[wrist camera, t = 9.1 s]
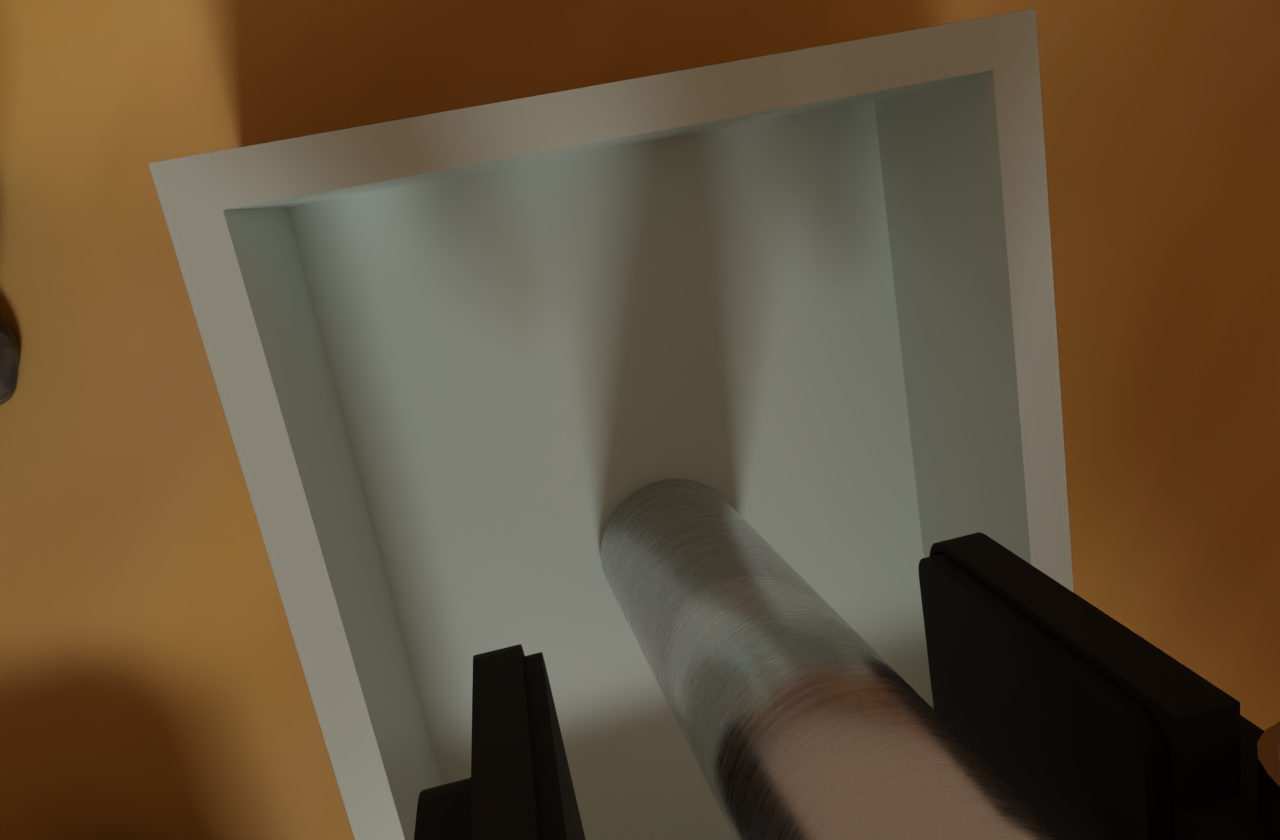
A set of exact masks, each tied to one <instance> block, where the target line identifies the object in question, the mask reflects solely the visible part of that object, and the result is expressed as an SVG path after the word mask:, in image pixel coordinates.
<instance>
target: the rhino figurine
mask: <svg viewBox="0 0 1280 840" xmlns="http://www.w3.org/2000/svg"><path fill="white" fill-rule="evenodd" d="M19 360H20V349H19V344H18V342H17V340H16V337H15V335H14V333H13V330H12V328H11V327H10V326H9V325H8V324H7V323H6V322H5V321H3V320H2V319H0V405H2V404H4V403H5V402H7V401H8V400H9V399H10V398H11V397H12V396H13V394H14V392H15V389H16V384H17V373H18V366H19Z"/></svg>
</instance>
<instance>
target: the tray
mask: <svg viewBox="0 0 1280 840" xmlns="http://www.w3.org/2000/svg"><path fill="white" fill-rule="evenodd" d="M148 164H149V167H150V170H151V174H152V177H153V180H154V183H155V187H156V190H157V193H158V196H159V200H160V203H161V206H162V210H163V213H164V216H165V219H166V223H167V226H168V229H169V232H170V236H171V239H172V242H173V246H174V249H175V252H176V255H177V259H178V262H179V265H180V268H181V272H182V275H183V278H184V282H185V285H186V288H187V291H188V295H189V298H190V301H191V305H192V308H193V311H194V314H195V318H196V321H197V324H198V327H199V331H200V334H201V337H202V341H203V344H204V347H205V350H206V354H207V357H208V360H209V363H210V367H211V370H212V373H213V377H214V380H215V383H216V386H217V390H218V393H219V396H220V399H221V403H222V406H223V409H224V413H225V416H226V419H227V422H228V426H229V429H230V432H231V435H232V439H233V442H234V445H235V449H236V452H237V455H238V458H239V462H240V465H241V468H242V471H243V475H244V478H245V481H246V485H247V488H248V491H249V494H250V498H251V501H252V504H253V507H254V511H255V514H256V517H257V521H258V524H259V527H260V530H261V534H262V537H263V540H264V543H265V547H266V550H267V553H268V557H269V560H270V563H271V566H272V570H273V573H274V576H275V579H276V583H277V586H278V589H279V593H280V596H281V599H282V602H283V606H284V609H285V612H286V616H287V619H288V622H289V625H290V629H291V632H292V635H293V638H294V642H295V645H296V648H297V652H298V655H299V658H300V661H301V665H302V668H303V671H304V674H305V678H306V681H307V684H308V688H309V691H310V694H311V697H312V701H313V704H314V707H315V710H316V714H317V717H318V720H319V724H320V727H321V730H322V733H323V737H324V740H325V743H326V746H327V750H328V753H329V756H330V760H331V763H332V766H333V769H334V773H335V776H336V779H337V782H338V786H339V789H340V792H341V796H342V799H343V802H344V805H345V809H346V812H347V815H348V818H349V822H350V825H351V828H352V832H353V835H354V838H355V840H414V832H415V823H416V813H417V804H418V798H419V793H420V792H421V791H422V790H424V789H428V788H432V787H436V786H440V785H443V784H447V783H451V782H455V781H459V780H463V779H467V778H470V777H471V747H472V686H473V656H474V655H478V654H482V653H486V652H490V651H494V650H498V649H502V648H506V647H510V646H515V645H519V644H521V645H522V648H523V651H524V655H525V656H528V655H532V654H536V653H540V652H542V654H543V657H544V661H545V665H546V670H547V674H548V678H549V683H550V687H551V691H552V696H553V700H554V704H555V709H556V713H557V717H558V722H559V726H560V730H561V735H562V739H563V743H564V748H565V752H566V757H567V761H568V765H569V770H570V774H571V778H572V783H573V787H574V791H575V796H576V800H577V804H578V809H579V813H580V817H581V822H582V826H583V830H584V835H585V839H586V840H735V838H734V836H733V834H732V832H731V830H730V828H729V826H728V824H727V822H726V820H725V818H724V816H723V814H722V812H721V810H720V808H719V806H718V804H717V802H716V800H715V798H714V796H713V794H712V792H711V790H710V788H709V786H708V784H707V782H706V780H705V778H704V776H703V774H702V772H701V770H700V768H699V765H698V763H697V761H696V759H695V757H694V755H693V753H692V751H691V749H690V747H689V745H688V743H687V741H686V739H685V737H684V735H683V733H682V731H681V729H680V727H679V725H678V723H677V721H676V719H675V717H674V715H673V713H672V711H671V709H670V707H669V705H668V703H667V701H666V699H665V697H664V695H663V693H662V691H661V689H660V687H659V685H658V683H657V681H656V679H655V677H654V675H653V673H652V671H651V669H650V667H649V665H648V663H647V661H646V659H645V657H644V655H643V653H642V651H641V649H640V647H639V645H638V643H637V640H636V638H635V636H634V634H633V632H632V630H631V628H630V626H629V624H628V622H627V620H626V618H625V616H624V614H623V612H622V610H621V608H620V606H619V604H618V602H617V600H616V598H615V596H614V594H613V592H612V590H611V588H610V586H609V584H608V582H607V580H606V578H605V575H604V572H603V569H602V564H601V542H602V537H603V534H604V530H605V528H606V526H607V523H608V521H609V519H610V518H611V516H612V514H613V513H614V511H615V510H616V509H617V508H618V506H619V505H620V504H621V503H622V502H623V501H624V500H625V499H626V498H627V497H629V496H630V495H631V494H632V493H634V492H635V491H637V490H639V489H640V488H642V487H644V486H646V485H649V484H651V483H654V482H657V481H662V480H667V479H687V480H692V481H696V482H699V483H702V484H704V485H706V486H708V487H710V488H712V489H713V490H714V491H716V492H717V493H718V494H720V495H721V496H722V497H723V498H724V499H725V500H726V501H727V502H728V503H729V504H730V505H731V506H732V507H733V508H734V509H735V510H736V511H737V512H738V513H739V514H740V515H741V516H742V517H743V518H744V519H745V520H746V521H747V522H748V523H749V524H750V526H751V527H752V528H753V529H754V530H755V531H756V532H757V533H758V534H759V535H760V536H761V537H762V538H763V539H764V540H765V541H766V542H767V543H768V544H769V545H770V546H771V547H772V548H773V549H774V550H775V551H776V552H777V553H778V554H779V555H780V556H781V557H782V558H783V559H784V560H785V561H786V562H787V563H788V564H789V565H790V566H791V567H792V568H793V569H794V570H795V571H796V572H797V573H798V574H799V575H800V576H801V577H802V578H803V579H804V580H805V581H806V582H807V583H808V584H809V585H810V586H811V587H812V588H813V589H814V590H815V591H816V592H817V593H818V594H819V595H820V596H821V597H822V598H823V599H824V600H825V601H826V602H827V603H828V604H829V605H830V606H831V607H832V608H833V609H834V610H835V611H836V612H837V613H838V614H839V615H840V616H841V617H842V618H843V619H844V620H845V621H846V622H847V623H848V624H849V625H850V626H851V627H852V628H853V629H854V630H855V631H856V632H857V633H858V634H859V635H860V636H861V637H862V638H863V639H864V640H865V641H866V642H867V643H868V644H869V645H870V646H871V647H872V648H873V649H874V650H875V651H876V652H877V653H878V654H879V655H880V656H881V657H882V658H883V659H884V660H885V661H886V662H887V663H888V664H889V665H890V666H891V667H892V668H893V669H894V670H895V671H896V672H897V673H898V674H899V675H900V676H901V677H902V678H903V679H904V680H905V681H906V682H907V683H908V684H909V685H910V686H911V687H912V688H913V689H914V690H915V691H916V692H917V693H918V694H919V695H920V696H921V697H922V698H923V699H924V700H925V701H926V702H927V703H928V704H929V705H930V706H931V708H932V709H933V710H934V708H933V699H932V690H931V681H930V672H929V663H928V654H927V645H926V636H925V627H924V618H923V609H922V600H921V591H920V582H919V570H918V567H919V562H920V560H921V559H922V558H927V557H929V555H930V549H931V547H932V545H933V544H934V543H937V542H941V541H945V540H949V539H953V538H957V537H961V536H965V535H970V534H974V533H978V532H980V533H983V534H985V535H987V536H988V537H990V538H991V539H993V540H994V541H996V542H998V543H999V544H1001V545H1002V546H1004V547H1005V548H1007V549H1008V550H1010V551H1011V552H1013V553H1014V554H1016V555H1017V556H1019V557H1020V558H1022V559H1023V560H1025V561H1026V562H1028V563H1029V564H1031V565H1032V566H1034V567H1035V568H1037V569H1038V570H1040V571H1041V572H1043V573H1045V574H1046V575H1048V576H1049V577H1051V578H1052V579H1054V580H1055V581H1057V582H1058V583H1060V584H1061V585H1063V586H1064V587H1066V588H1067V589H1069V590H1070V591H1072V592H1073V593H1074V588H1073V573H1072V557H1071V542H1070V527H1069V511H1068V496H1067V481H1066V465H1065V450H1064V434H1063V419H1062V404H1061V388H1060V373H1059V358H1058V342H1057V327H1056V311H1055V296H1054V281H1053V265H1052V250H1051V235H1050V219H1049V204H1048V188H1047V173H1046V158H1045V142H1044V127H1043V111H1042V96H1041V81H1040V65H1039V50H1038V35H1037V19H1036V9H1030V10H1024V11H1019V12H1013V13H1007V14H1002V15H996V16H990V17H984V18H979V19H973V20H967V21H961V22H956V23H950V24H944V25H938V26H933V27H927V28H921V29H916V30H910V31H904V32H898V33H893V34H887V35H881V36H875V37H870V38H864V39H858V40H852V41H847V42H841V43H835V44H830V45H824V46H818V47H812V48H807V49H801V50H795V51H789V52H784V53H778V54H772V55H766V56H761V57H755V58H749V59H744V60H738V61H732V62H726V63H721V64H715V65H709V66H703V67H698V68H692V69H686V70H680V71H675V72H669V73H663V74H658V75H652V76H646V77H640V78H635V79H629V80H623V81H617V82H612V83H606V84H600V85H594V86H589V87H583V88H577V89H572V90H566V91H560V92H554V93H549V94H543V95H537V96H531V97H526V98H520V99H514V100H508V101H503V102H497V103H491V104H486V105H480V106H474V107H468V108H463V109H457V110H451V111H445V112H440V113H434V114H428V115H422V116H417V117H411V118H405V119H400V120H394V121H388V122H382V123H377V124H371V125H365V126H359V127H354V128H348V129H342V130H336V131H331V132H325V133H319V134H314V135H308V136H302V137H296V138H291V139H285V140H279V141H273V142H268V143H262V144H256V145H250V146H245V147H239V148H233V149H228V150H222V151H216V152H210V153H205V154H199V155H193V156H187V157H182V158H176V159H170V160H164V161H159V162H153V163H148Z"/></svg>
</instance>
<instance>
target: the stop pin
mask: <svg viewBox="0 0 1280 840" xmlns="http://www.w3.org/2000/svg"><path fill="white" fill-rule="evenodd" d="M601 564H602V569H603V572H604V575H605V578H606V580H607V582H608V584H609V586H610V588H611V590H612V592H613V594H614V596H615V598H616V600H617V602H618V604H619V606H620V608H621V610H622V612H623V614H624V616H625V618H626V620H627V622H628V624H629V626H630V628H631V630H632V632H633V634H634V636H635V638H636V640H637V643H638V645H639V647H640V649H641V651H642V653H643V655H644V657H645V659H646V661H647V663H648V665H649V667H650V669H651V671H652V673H653V675H654V677H655V679H656V681H657V683H658V685H659V687H660V689H661V691H662V693H663V695H664V697H665V699H666V701H667V703H668V705H669V707H670V709H671V711H672V713H673V715H674V717H675V719H676V721H677V723H678V725H679V727H680V729H681V731H682V733H683V735H684V737H685V739H686V741H687V743H688V745H689V747H690V749H691V751H692V753H693V755H694V757H695V759H696V761H697V763H698V765H699V768H700V770H701V772H702V774H703V776H704V778H705V780H706V782H707V784H708V786H709V788H710V790H711V792H712V794H713V796H714V798H715V800H716V802H717V804H718V806H719V808H720V810H721V812H722V814H723V816H724V818H725V820H726V822H727V824H728V826H729V828H730V830H731V832H732V834H733V836H734V838H735V840H1063V839H1062V838H1061V837H1060V836H1059V835H1058V834H1057V833H1056V832H1055V831H1054V830H1053V829H1052V828H1051V827H1050V826H1049V825H1048V824H1047V823H1046V822H1045V821H1044V820H1043V819H1042V818H1041V817H1040V816H1039V815H1038V814H1037V813H1036V812H1035V811H1034V810H1033V809H1032V808H1031V807H1030V806H1029V805H1028V804H1027V803H1026V802H1025V801H1024V800H1023V799H1022V798H1021V797H1020V796H1019V795H1018V794H1017V793H1016V792H1015V791H1014V790H1013V789H1012V788H1011V787H1010V786H1009V785H1008V784H1007V783H1006V782H1005V781H1004V780H1003V779H1002V778H1001V777H1000V776H999V775H998V774H997V773H996V772H995V771H994V770H993V769H992V768H991V767H990V766H989V765H988V764H987V763H986V762H985V761H984V760H983V759H982V758H981V757H980V756H979V755H978V754H977V753H976V752H975V751H974V750H973V749H972V748H971V747H970V746H969V745H968V744H967V743H966V742H965V741H964V740H963V739H962V738H961V737H960V736H959V735H958V734H957V733H956V732H955V731H954V730H953V729H952V728H951V727H950V726H949V725H948V724H947V723H946V722H945V721H944V720H943V719H942V718H941V717H940V716H939V715H938V714H937V713H936V712H935V711H934V710H933V709H932V708H931V706H930V705H929V704H928V703H927V702H926V701H925V700H924V699H923V698H922V697H921V696H920V695H919V694H918V693H917V692H916V691H915V690H914V689H913V688H912V687H911V686H910V685H909V684H908V683H907V682H906V681H905V680H904V679H903V678H902V677H901V676H900V675H899V674H898V673H897V672H896V671H895V670H894V669H893V668H892V667H891V666H890V665H889V664H888V663H887V662H886V661H885V660H884V659H883V658H882V657H881V656H880V655H879V654H878V653H877V652H876V651H875V650H874V649H873V648H872V647H871V646H870V645H869V644H868V643H867V642H866V641H865V640H864V639H863V638H862V637H861V636H860V635H859V634H858V633H857V632H856V631H855V630H854V629H853V628H852V627H851V626H850V625H849V624H848V623H847V622H846V621H845V620H844V619H843V618H842V617H841V616H840V615H839V614H838V613H837V612H836V611H835V610H834V609H833V608H832V607H831V606H830V605H829V604H828V603H827V602H826V601H825V600H824V599H823V598H822V597H821V596H820V595H819V594H818V593H817V592H816V591H815V590H814V589H813V588H812V587H811V586H810V585H809V584H808V583H807V582H806V581H805V580H804V579H803V578H802V577H801V576H800V575H799V574H798V573H797V572H796V571H795V570H794V569H793V568H792V567H791V566H790V565H789V564H788V563H787V562H786V561H785V560H784V559H783V558H782V557H781V556H780V555H779V554H778V553H777V552H776V551H775V550H774V549H773V548H772V547H771V546H770V545H769V544H768V543H767V542H766V541H765V540H764V539H763V538H762V537H761V536H760V535H759V534H758V533H757V532H756V531H755V530H754V529H753V528H752V527H751V526H750V524H749V523H748V522H747V521H746V520H745V519H744V518H743V517H742V516H741V515H740V514H739V513H738V512H737V511H736V510H735V509H734V508H733V507H732V506H731V505H730V504H729V503H728V502H727V501H726V500H725V499H724V498H723V497H722V496H721V495H720V494H718V493H717V492H716V491H714V490H713V489H712V488H710V487H708V486H706V485H704V484H702V483H699V482H696V481H692V480H687V479H667V480H662V481H657V482H654V483H651V484H649V485H646V486H644V487H642V488H640V489H639V490H637V491H635V492H634V493H632V494H631V495H630V496H629V497H627V498H626V499H625V500H624V501H623V502H622V503H621V504H620V505H619V506H618V508H617V509H616V510H615V511H614V513H613V514H612V516H611V518H610V519H609V521H608V523H607V526H606V528H605V530H604V534H603V537H602V542H601Z"/></svg>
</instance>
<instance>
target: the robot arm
mask: <svg viewBox="0 0 1280 840" xmlns="http://www.w3.org/2000/svg"><path fill="white" fill-rule="evenodd" d="M918 570H919V582H920V591H921V600H922V609H923V618H924V627H925V636H926V645H927V654H928V663H929V672H930V681H931V690H932V699H933V708H934V711H935V712H936V713H937V714H938V715H939V716H940V717H941V718H942V719H943V720H944V721H945V722H946V723H947V724H948V725H949V726H950V727H951V728H952V729H953V730H954V731H955V732H956V733H957V734H958V735H959V736H960V737H961V738H962V739H963V740H964V741H965V742H966V743H967V744H968V745H969V746H970V747H971V748H972V749H973V750H974V751H975V752H976V753H977V754H978V755H979V756H980V757H981V758H982V759H983V760H984V761H985V762H986V763H987V764H988V765H989V766H990V767H991V768H992V769H993V770H994V771H995V772H996V773H997V774H998V775H999V776H1000V777H1001V778H1002V779H1003V780H1004V781H1005V782H1006V783H1007V784H1008V785H1009V786H1010V787H1011V788H1012V789H1013V790H1014V791H1015V792H1016V793H1017V794H1018V795H1019V796H1020V797H1021V798H1022V799H1023V800H1024V801H1025V802H1026V803H1027V804H1028V805H1029V806H1030V807H1031V808H1032V809H1033V810H1034V811H1035V812H1036V813H1037V814H1038V815H1039V816H1040V817H1041V818H1042V819H1043V820H1044V821H1045V822H1046V823H1047V824H1048V825H1049V826H1050V827H1051V828H1052V829H1053V830H1054V831H1055V832H1056V833H1057V834H1058V835H1059V836H1060V837H1061V838H1062V839H1063V840H1280V722H1278V723H1277V724H1275V725H1273V726H1271V727H1269V728H1268V729H1266V730H1265V731H1263V730H1262V729H1260V728H1259V727H1257V726H1256V725H1254V724H1253V723H1251V722H1250V721H1248V720H1247V719H1245V718H1244V717H1242V716H1241V715H1240V702H1239V701H1237V700H1235V699H1234V698H1232V697H1231V696H1229V695H1228V694H1226V693H1225V692H1223V691H1222V690H1220V689H1219V688H1217V687H1216V686H1214V685H1213V684H1211V683H1210V682H1208V681H1207V680H1205V679H1204V678H1202V677H1201V676H1199V675H1198V674H1196V673H1195V672H1193V671H1192V670H1190V669H1189V668H1187V667H1185V666H1184V665H1182V664H1181V663H1179V662H1178V661H1176V660H1175V659H1173V658H1172V657H1170V656H1169V655H1167V654H1166V653H1164V652H1163V651H1161V650H1160V649H1158V648H1157V647H1155V646H1154V645H1152V644H1151V643H1149V642H1148V641H1146V640H1145V639H1143V638H1142V637H1140V636H1138V635H1137V634H1135V633H1134V632H1132V631H1131V630H1129V629H1128V628H1126V627H1125V626H1123V625H1122V624H1120V623H1119V622H1117V621H1116V620H1114V619H1113V618H1111V617H1110V616H1108V615H1107V614H1105V613H1104V612H1102V611H1101V610H1099V609H1098V608H1096V607H1095V606H1093V605H1091V604H1090V603H1088V602H1087V601H1085V600H1084V599H1082V598H1081V597H1079V596H1078V595H1076V594H1075V593H1073V592H1072V591H1070V590H1069V589H1067V588H1066V587H1064V586H1063V585H1061V584H1060V583H1058V582H1057V581H1055V580H1054V579H1052V578H1051V577H1049V576H1048V575H1046V574H1045V573H1043V572H1041V571H1040V570H1038V569H1037V568H1035V567H1034V566H1032V565H1031V564H1029V563H1028V562H1026V561H1025V560H1023V559H1022V558H1020V557H1019V556H1017V555H1016V554H1014V553H1013V552H1011V551H1010V550H1008V549H1007V548H1005V547H1004V546H1002V545H1001V544H999V543H998V542H996V541H994V540H993V539H991V538H990V537H988V536H987V535H985V534H983V533H980V532H978V533H974V534H970V535H965V536H961V537H957V538H953V539H949V540H945V541H941V542H937V543H934V544H933V545H932V547H931V549H930V555H929V557H927V558H922V559H921V560H920V562H919V567H918ZM414 840H586V839H585V835H584V830H583V826H582V822H581V817H580V813H579V809H578V804H577V800H576V796H575V791H574V787H573V783H572V778H571V774H570V770H569V765H568V761H567V757H566V752H565V748H564V743H563V739H562V735H561V730H560V726H559V722H558V717H557V713H556V709H555V704H554V700H553V696H552V691H551V687H550V683H549V678H548V674H547V670H546V665H545V661H544V657H543V654H542V652H540V653H536V654H532V655H528V656H525V655H524V651H523V648H522V645H521V644H519V645H515V646H510V647H506V648H502V649H498V650H494V651H490V652H486V653H482V654H478V655H474V656H473V686H472V747H471V777H470V778H467V779H463V780H459V781H455V782H451V783H447V784H443V785H440V786H436V787H432V788H428V789H424V790H422V791H421V792H420V793H419V798H418V804H417V813H416V823H415V832H414Z"/></svg>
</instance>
